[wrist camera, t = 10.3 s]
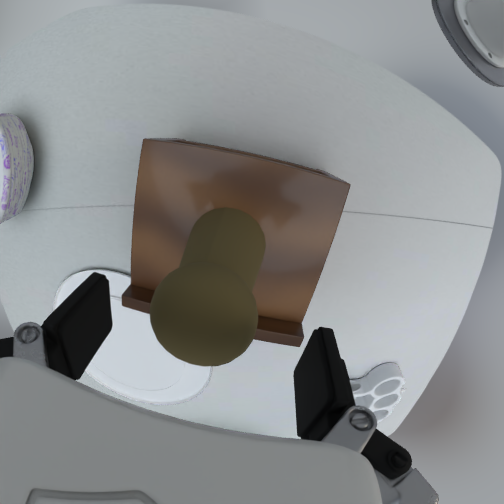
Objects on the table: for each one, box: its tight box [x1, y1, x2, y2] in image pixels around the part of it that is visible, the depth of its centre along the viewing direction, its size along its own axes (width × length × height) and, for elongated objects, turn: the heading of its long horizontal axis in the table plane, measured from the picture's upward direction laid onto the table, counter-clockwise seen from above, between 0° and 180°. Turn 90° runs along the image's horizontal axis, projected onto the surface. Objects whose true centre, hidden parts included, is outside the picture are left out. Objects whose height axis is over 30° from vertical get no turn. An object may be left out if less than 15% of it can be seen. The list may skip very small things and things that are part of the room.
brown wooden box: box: [121, 138, 350, 347], centre depth 24 cm, size 14×16×10 cm
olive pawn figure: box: [150, 207, 266, 367], centre depth 16 cm, size 6×6×11 cm
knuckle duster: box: [350, 363, 406, 424], centre depth 39 cm, size 3×18×15 cm
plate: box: [53, 269, 212, 405], centre depth 37 cm, size 28×28×1 cm
